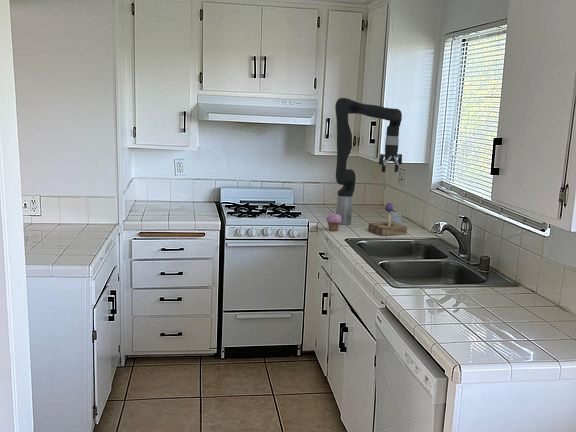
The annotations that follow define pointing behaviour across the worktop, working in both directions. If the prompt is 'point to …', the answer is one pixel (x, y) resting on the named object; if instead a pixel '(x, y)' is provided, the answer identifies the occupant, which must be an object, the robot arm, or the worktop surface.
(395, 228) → the socket block
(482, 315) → the worktop surface
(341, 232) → the worktop surface
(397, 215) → the medicine box
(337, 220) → the cupcake
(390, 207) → the toy lamp
